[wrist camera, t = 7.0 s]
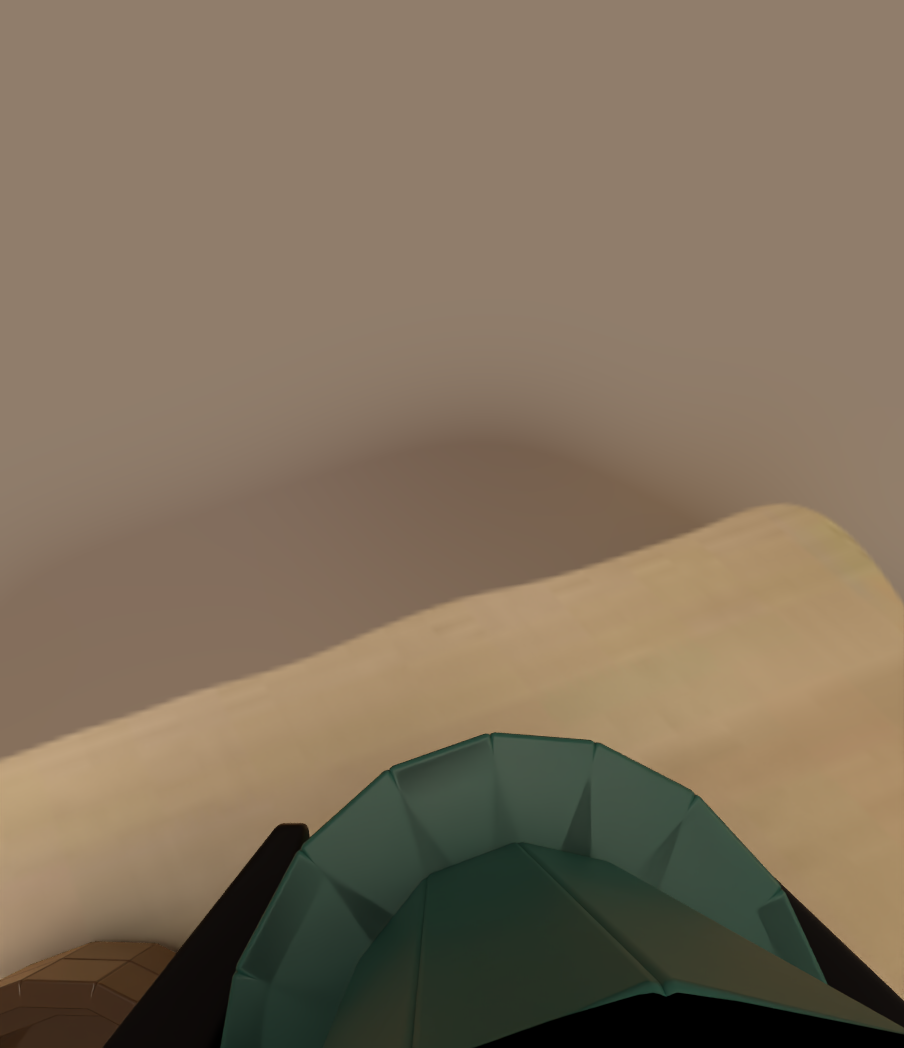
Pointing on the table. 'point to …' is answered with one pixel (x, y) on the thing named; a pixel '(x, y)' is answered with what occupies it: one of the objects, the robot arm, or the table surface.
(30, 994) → the brown round bowl
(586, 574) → the table surface
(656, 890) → the ceramic bottle
